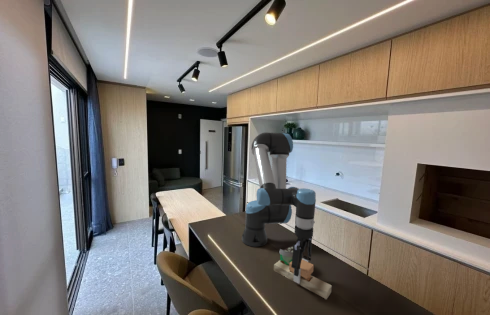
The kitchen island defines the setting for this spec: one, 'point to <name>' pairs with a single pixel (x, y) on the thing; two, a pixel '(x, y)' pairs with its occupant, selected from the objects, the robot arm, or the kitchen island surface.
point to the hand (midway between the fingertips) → (300, 277)
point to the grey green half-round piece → (286, 255)
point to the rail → (305, 281)
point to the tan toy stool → (304, 269)
